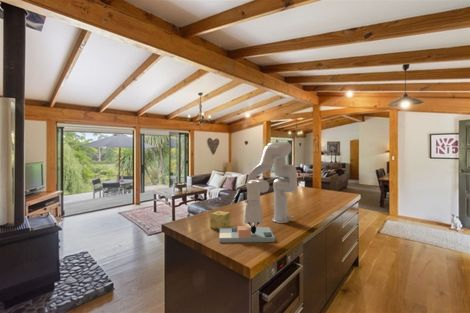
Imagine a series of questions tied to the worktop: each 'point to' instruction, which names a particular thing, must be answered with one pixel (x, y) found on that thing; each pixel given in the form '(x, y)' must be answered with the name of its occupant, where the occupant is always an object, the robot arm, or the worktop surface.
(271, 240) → the trap deck
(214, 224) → the cheese
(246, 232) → the block
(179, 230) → the worktop surface
